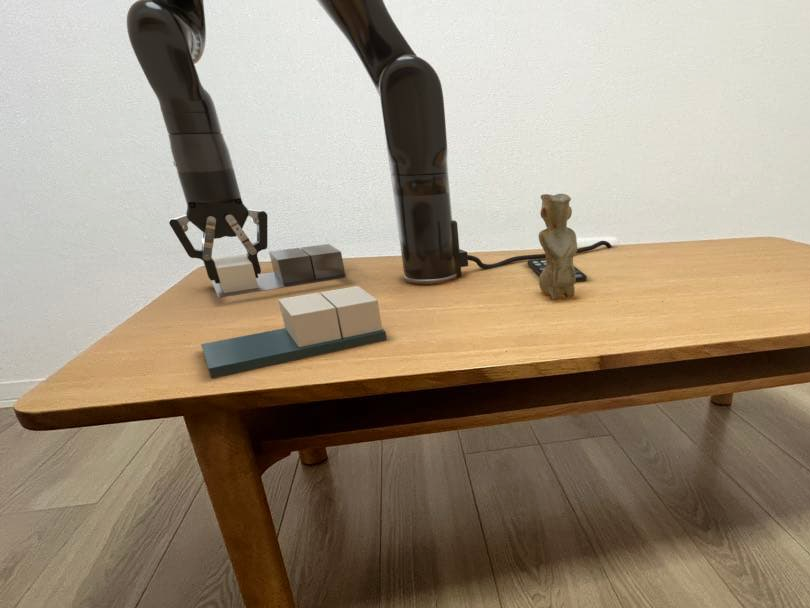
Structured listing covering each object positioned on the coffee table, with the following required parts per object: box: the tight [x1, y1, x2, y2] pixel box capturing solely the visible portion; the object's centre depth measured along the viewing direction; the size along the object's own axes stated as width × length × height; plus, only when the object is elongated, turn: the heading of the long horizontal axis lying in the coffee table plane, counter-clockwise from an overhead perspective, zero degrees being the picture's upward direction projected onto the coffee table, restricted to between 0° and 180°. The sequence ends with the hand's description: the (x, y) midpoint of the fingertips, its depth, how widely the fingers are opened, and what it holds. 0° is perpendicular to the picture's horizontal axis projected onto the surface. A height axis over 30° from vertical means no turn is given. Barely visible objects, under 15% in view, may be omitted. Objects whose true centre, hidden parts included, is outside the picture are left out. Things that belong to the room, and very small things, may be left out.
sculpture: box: [538, 193, 578, 300], centre depth 82 cm, size 6×7×15 cm
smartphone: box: [526, 259, 588, 282], centre depth 98 cm, size 7×1×15 cm
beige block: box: [212, 254, 259, 293], centre depth 88 cm, size 5×8×4 cm, turn 34°
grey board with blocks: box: [210, 243, 349, 299], centre depth 92 cm, size 20×12×5 cm, turn 124°
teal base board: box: [200, 285, 388, 379], centre depth 66 cm, size 20×9×5 cm, turn 124°
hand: (236, 279), depth 89 cm, fingers closed on beige block, 5 cm apart
